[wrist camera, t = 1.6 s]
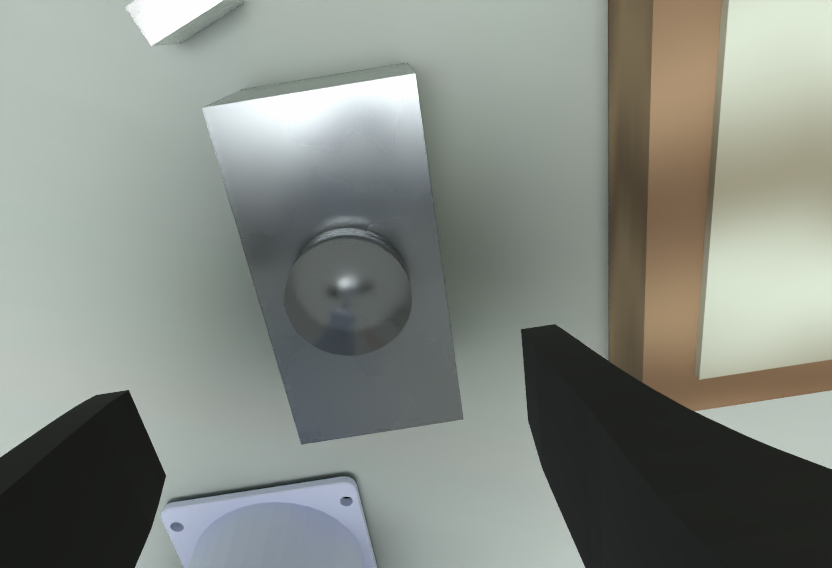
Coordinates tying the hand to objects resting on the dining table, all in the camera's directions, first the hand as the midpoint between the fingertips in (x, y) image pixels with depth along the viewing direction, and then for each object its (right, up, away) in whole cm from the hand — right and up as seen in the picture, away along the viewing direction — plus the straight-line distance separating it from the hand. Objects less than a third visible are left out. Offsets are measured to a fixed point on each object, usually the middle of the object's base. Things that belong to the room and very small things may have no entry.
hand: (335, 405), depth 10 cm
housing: (-1, +4, +9) cm, 10 cm away
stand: (+13, +6, +8) cm, 17 cm away
